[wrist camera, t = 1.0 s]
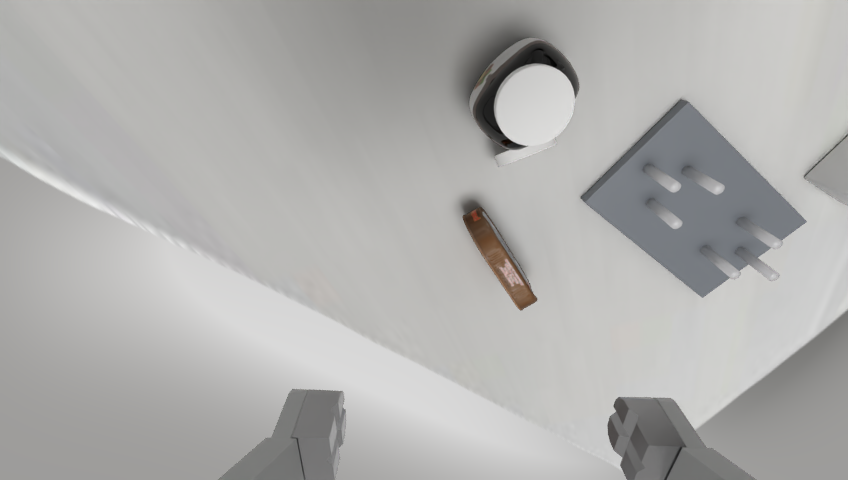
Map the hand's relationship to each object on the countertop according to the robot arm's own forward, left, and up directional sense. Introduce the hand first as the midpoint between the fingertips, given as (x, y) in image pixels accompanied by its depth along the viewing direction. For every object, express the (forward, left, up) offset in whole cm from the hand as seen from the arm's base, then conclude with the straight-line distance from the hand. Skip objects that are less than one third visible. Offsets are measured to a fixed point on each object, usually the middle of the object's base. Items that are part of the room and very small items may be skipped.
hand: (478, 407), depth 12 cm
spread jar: (-6, +5, -40) cm, 41 cm away
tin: (+9, +16, -40) cm, 44 cm away
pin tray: (-10, +32, -40) cm, 52 cm away
